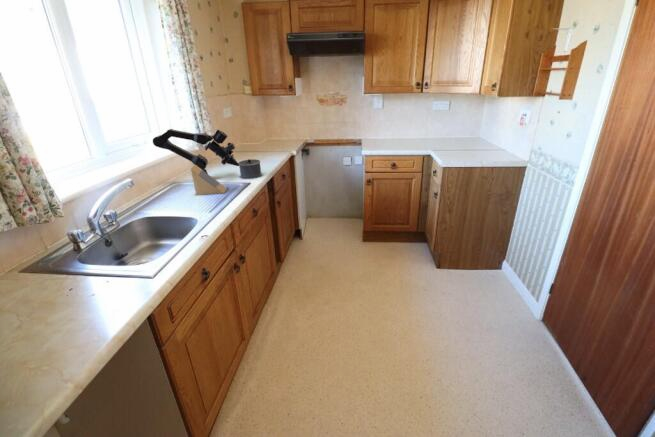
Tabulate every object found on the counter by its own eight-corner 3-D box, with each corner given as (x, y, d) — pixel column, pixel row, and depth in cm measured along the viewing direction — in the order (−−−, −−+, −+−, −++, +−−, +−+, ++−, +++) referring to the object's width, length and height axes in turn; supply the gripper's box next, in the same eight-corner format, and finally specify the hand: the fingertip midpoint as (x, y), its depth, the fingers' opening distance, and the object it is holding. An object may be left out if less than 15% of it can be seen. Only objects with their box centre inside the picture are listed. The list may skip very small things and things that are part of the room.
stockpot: (236, 178, 203) (233, 161, 198) (246, 172, 215) (244, 156, 210) (256, 179, 199) (253, 162, 195) (265, 173, 211) (263, 156, 207)
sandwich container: (224, 193, 177) (219, 166, 171) (196, 195, 176) (190, 168, 170) (227, 188, 185) (223, 162, 179) (200, 190, 184) (195, 164, 178)
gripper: (223, 142, 187) (245, 159, 193) (227, 136, 204) (247, 152, 210) (212, 156, 189) (234, 173, 195) (216, 150, 206) (237, 165, 212)
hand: (238, 165), depth 203 cm, fingers closed, pressing on stockpot
